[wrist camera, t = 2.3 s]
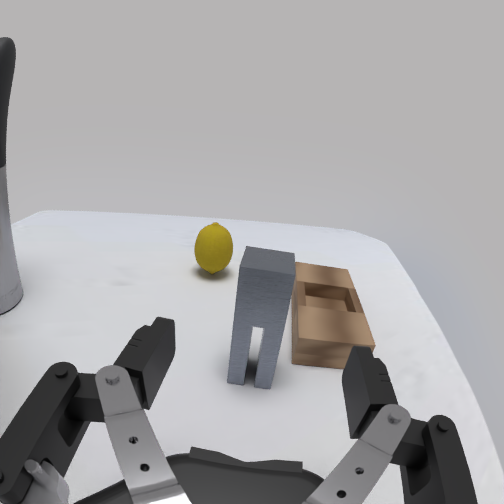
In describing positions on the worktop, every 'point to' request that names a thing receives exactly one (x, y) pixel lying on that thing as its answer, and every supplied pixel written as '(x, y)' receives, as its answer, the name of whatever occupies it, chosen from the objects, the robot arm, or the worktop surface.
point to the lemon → (213, 248)
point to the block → (260, 311)
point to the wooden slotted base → (326, 317)
